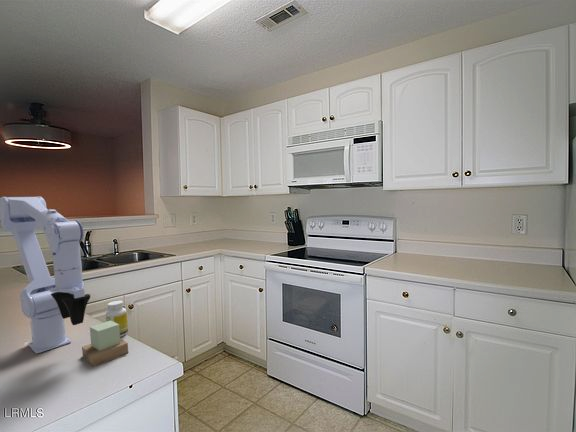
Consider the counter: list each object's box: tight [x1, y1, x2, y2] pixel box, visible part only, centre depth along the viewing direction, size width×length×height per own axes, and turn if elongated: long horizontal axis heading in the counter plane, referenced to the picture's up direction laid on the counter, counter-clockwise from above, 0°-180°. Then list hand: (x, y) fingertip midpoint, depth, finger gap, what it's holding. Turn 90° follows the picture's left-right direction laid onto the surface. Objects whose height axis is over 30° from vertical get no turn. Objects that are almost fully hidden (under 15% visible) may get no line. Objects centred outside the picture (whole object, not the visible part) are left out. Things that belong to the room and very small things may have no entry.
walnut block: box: [81, 338, 129, 367], centre depth 79 cm, size 8×8×3 cm
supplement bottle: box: [105, 300, 129, 338], centre depth 91 cm, size 5×5×10 cm
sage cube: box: [89, 320, 121, 351], centre depth 79 cm, size 5×5×5 cm
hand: (72, 320), depth 79 cm, fingers open, 7 cm apart
